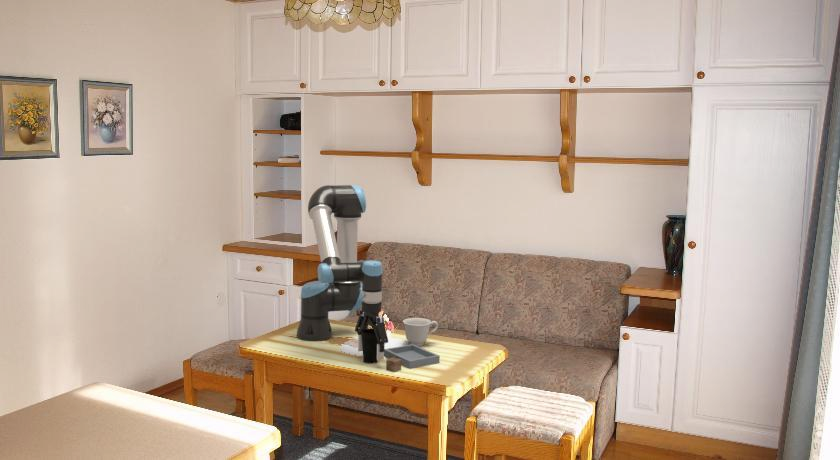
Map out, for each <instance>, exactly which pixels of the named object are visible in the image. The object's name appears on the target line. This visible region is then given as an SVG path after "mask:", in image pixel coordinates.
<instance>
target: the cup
mask: <svg viewBox="0 0 840 460" xmlns="http://www.w3.org/2000/svg"><path fill="white" fill-rule="evenodd" d="M361 336H362V349H363V351H362V359H363V360H362V361H363V363H365V364H370V365H373V364H377V363H378V362H379V361H378V360H377V343H378V340H377V337H376V335H375V332H374V329H373V328H367V329H364V330H362V331H361Z"/></svg>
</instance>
